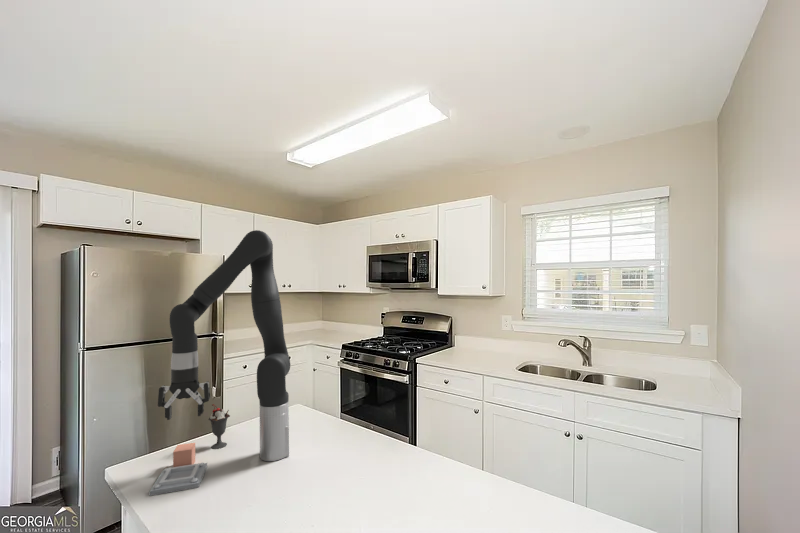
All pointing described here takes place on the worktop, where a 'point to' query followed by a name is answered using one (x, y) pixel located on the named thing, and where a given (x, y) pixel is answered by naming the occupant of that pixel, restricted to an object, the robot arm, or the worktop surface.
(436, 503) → the worktop surface
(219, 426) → the sundae
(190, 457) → the block
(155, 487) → the plate
